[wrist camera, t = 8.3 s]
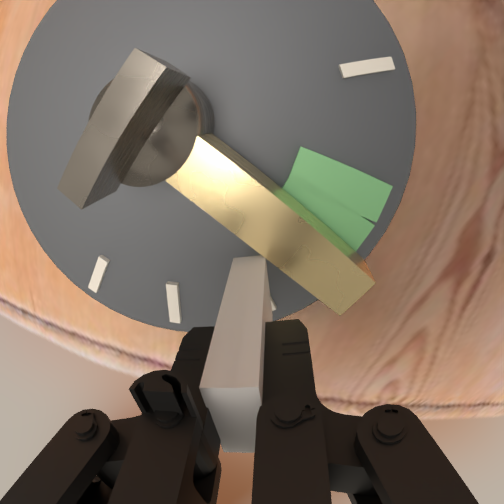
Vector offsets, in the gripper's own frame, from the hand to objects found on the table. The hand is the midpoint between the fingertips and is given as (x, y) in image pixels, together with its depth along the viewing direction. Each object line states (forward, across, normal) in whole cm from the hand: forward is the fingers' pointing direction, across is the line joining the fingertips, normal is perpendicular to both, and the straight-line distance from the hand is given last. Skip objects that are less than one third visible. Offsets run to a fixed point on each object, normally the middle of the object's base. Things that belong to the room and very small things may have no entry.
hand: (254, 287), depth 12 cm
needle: (+3, 0, +4) cm, 5 cm away
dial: (+4, -3, +7) cm, 9 cm away
